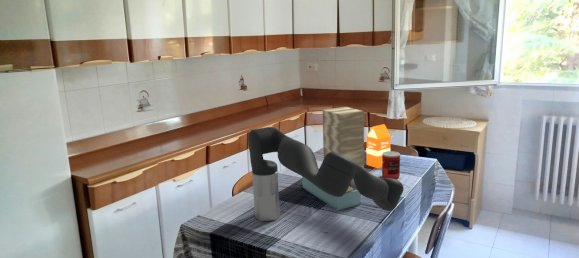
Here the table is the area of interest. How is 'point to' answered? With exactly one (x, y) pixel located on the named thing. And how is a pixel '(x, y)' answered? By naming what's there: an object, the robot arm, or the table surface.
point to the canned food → (391, 164)
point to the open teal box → (337, 203)
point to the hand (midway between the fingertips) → (334, 167)
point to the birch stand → (344, 133)
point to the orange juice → (377, 145)
